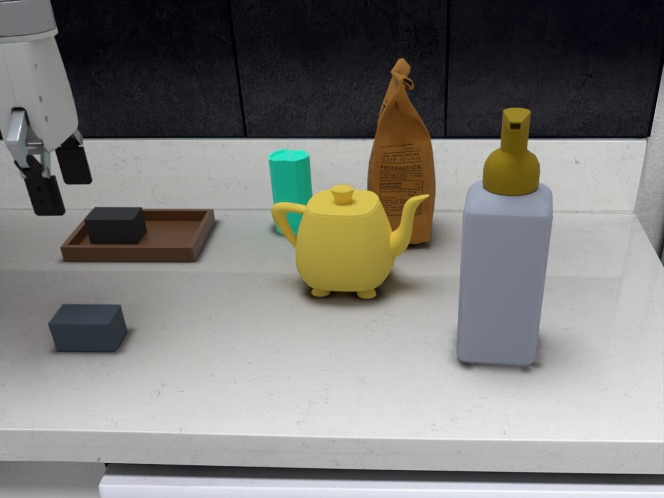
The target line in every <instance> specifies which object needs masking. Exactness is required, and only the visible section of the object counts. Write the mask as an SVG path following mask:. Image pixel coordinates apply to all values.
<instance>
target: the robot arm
mask: <svg viewBox="0 0 664 498" xmlns="http://www.w3.org/2000/svg"><path fill="white" fill-rule="evenodd" d="M55 19H56V18H55V14H54V10H53V6H52V3H51V0H0V133H1V137H2V140H3V143H4V145H5V148H6V149H7V151H9V153H10V155H11V156H12V158H13V163H14V165H15V167H16V168H17V169H18V170H19V171H18V172H19V175H20V177H21V179H23V181H24V184H25V188H26V191H27V194H28V197H29V199H30V203H31V206H32V210H33V213H34V214H35V215H36V216H37V217H62V216H64V215H66V207H65V203H64V200H63V196H62V193H61V190H60V187H59V183H58V179H57V176H56V175H55V174H52V164H51V163H52V161H51V159H52V158H51V153H52V152H55V156H56V159H57V162H58V166H59V170H60V173H61V177H62V180H63V183H64V184H65V185H67V186H72V185H73V186H74V185H77V186H79V185H80V186H82V185H85V186H86V185H91V184H92V183H93V180H94V179H93V176H92V172H91V169H90V165H89V161H88V158H87V154H86V153H87V152H86V149H85V146H84V138H83V135H82V133H81V132H80V131H79V130H80V129H79V127H80V118H78V113H77V109H76V101H75V97H74V96H73V93H72V88H71V85H70V82H69V78H68V75H67V71H66V68H65V66H64V62H63V59H62V57H61V56H62V55H61V53H60V50H59V47H58V44H57V41H56V38H55V36H56V35H58V34H59V31H58V27H57V22H56V20H55ZM39 155H40V156H39ZM35 156H39V157H40V161H39V160H38V159H37V158H36V157H35Z"/></svg>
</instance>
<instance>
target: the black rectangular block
mask: <svg viewBox="0 0 664 498" xmlns="http://www.w3.org/2000/svg"><path fill="white" fill-rule="evenodd" d="M92 209H93V210H92ZM92 209H91V210H92V211H91V210H90V211H91V212H90V211H89V212H88V214H87V215H88V216H87V215H86V216H87V217H86V216H85V217H86V218H85V217H84V218H85V219H84V218H83V220H84V222H85V225H86V229H87V232H88V236H89V240H90V243H91V244H138V243H139V242H140V240H141V239H142V237H143V236H144V234H145V233H146V231H147V228H146V224H145V219H144V215H143V210H142V209H143V207H142V206H94V207H93V208H92Z"/></svg>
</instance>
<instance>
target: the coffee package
mask: <svg viewBox="0 0 664 498" xmlns="http://www.w3.org/2000/svg"><path fill="white" fill-rule="evenodd" d="M410 73H411V65H410V64H409V63H408V62H407V61H406V59H405V58H398V59H397V60H396V63H395V65H394V66H393V67H392V69H391V70H390V74H391V76H392V77H391V79H390V82H389V84H388V87H387V89H386V93H385V96H384V97H383V101H382V104H381V106H380V110H379V113H378V119H377V128H376V131H375V136H374V139H373V143H372V148H371V152H370V155H369V160H368V168H367V177H366V178H367V179H366V190H367V191H372V192H374V193H375V194H376V195H377V196H378V198H379V200H380V201H381V204H382V206H383V208H384V211H385V213H386V215H387V218H388V220H389V223H390V226H391V229H392V232H394V231H395V230H396V229H398V227H399V226H400V223H401V218H402V211H403V207H404V205H405V203H406V202H407V201H408V200H409V199H410V198H412V197H415V196H419V195H429V197H428V198H426V199H425V200H423V201H422V202H421V203H420V204H419V205H418V207H417V208H416V211H415V213H414V218H413V226H412V234H411V239H410V242H409V244H408V245H418V244H422V243H429V242H430V240H431V238H432V237H431V236H432V230H433V229H432V228H433V227H432V226H433V220H434V213H435V204H436V203H435V202H436V194H437V193H436V192H437V189H436V187H437V186H436V185H437V184H436V183H437V182H436V170H435V159H434V150H433V143H432V138H431V135H430V133H429V131H428V129H427V127H426V125H425V124H424V122H423V119H422V118H421V116H420V115H419V113H418V111H417V109H416V108H415V107H414V105H413V103H412V101H411V99H410V98H409V96H408V92H407V91H409V92H410V91H413V90H414V88H415V84H414V82H413V80H412V79H411V78H409V77H408V76H409V74H410Z"/></svg>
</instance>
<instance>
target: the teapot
mask: <svg viewBox="0 0 664 498" xmlns="http://www.w3.org/2000/svg"><path fill="white" fill-rule="evenodd" d="M428 197H429V195H419V196H415V197H412V198H410V199H409V200H408V201H407V202H406V203H405V205H404V207H403V211H402V218H401V223H400V226H399V227H398V229H396V230H395V231H394V232H392V229H391V226H390V223H389V220H388V218H387V215H386V213H385V211H384V208H383V206H382V204H381V201H380V200H379V198H378V196H377V195H376V194H375V193H374V192H372V191H367V189H355V187H354V186H352V185H350V184H345V183H341V184H336V185H333V186H331V188H329V189H328V188H327V189H323V190H320V191H317V192H316V193H315V194H314V195H313V197H312V198H311V199H310V200H309V202H308V204H307V206H305V205H301V204H296V203H289V202H279V203H276V204H274V203H273V204H272V207H271V210H270V213H271V217H272V220H273V222H274V223H275V226H276V225H277V227H278V229H279V230H280V231H281V232H282V234H281V235H282V236H284V238H285V239H286V240H287V241H288V243H289V244H290V245H292V247H293V248H294V249H295V251H294V253H295V267H296V270H297V272H298V274H299V276H300V278H301V279H302V281H304V283H305V284H306V285H307V286H308V287H310V288H312V290H311V295H312V296H315V297H320V298H321V297H326V296H327V297H328V296H329V295H330V294H331V292H356V294H357V297H358V298H361V299H365V300H366V299H373V298H375V297H376V296H377V292H376V290H375V289H376V288H378V287H379V286H380V285H382V284H383V283H384V281H385V280H386V279H387V277H388V276H389V274H390V273H391V271H392V270H393V267H394V266H395V263H396V258H398V257H399V256H400V255H402V254H404V252H405V251H406V250H407V248H408V246H409V245H410V244H409V242H410V239H411V234H412V226H413V218H414V213H415V211H416V208H417V207H418V205H419V204H420V203H421V202H422V201H423V200H425V199H426V198H428ZM288 212H293V213H300V214H303V217H302V220H301V223H300V226H299V230H298V234H297V236H296V235H295V234H294V232H293V231H292V229H291V227H290V225H289V223H288V221H287V218H286V213H288Z"/></svg>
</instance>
